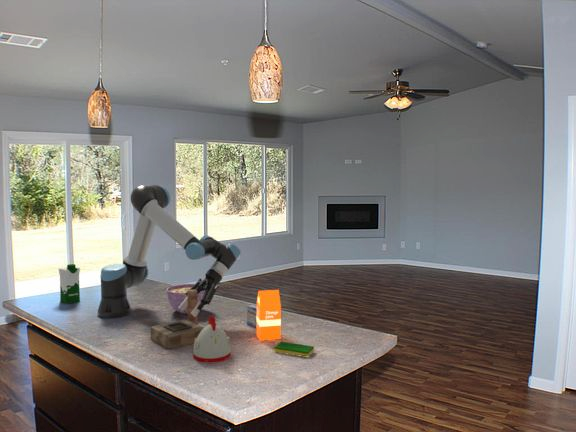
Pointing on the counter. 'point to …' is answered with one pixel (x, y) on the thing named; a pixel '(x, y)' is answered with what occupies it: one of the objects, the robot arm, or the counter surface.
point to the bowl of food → (180, 295)
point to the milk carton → (69, 284)
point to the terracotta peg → (192, 305)
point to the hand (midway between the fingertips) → (186, 312)
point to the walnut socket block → (175, 333)
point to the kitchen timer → (211, 344)
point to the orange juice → (268, 315)
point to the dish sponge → (294, 349)
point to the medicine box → (252, 315)
